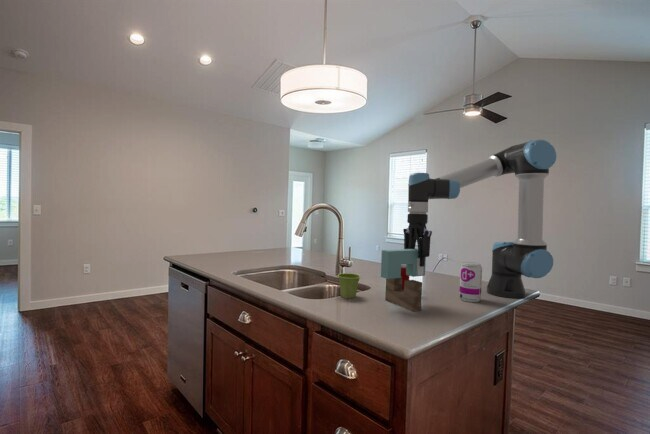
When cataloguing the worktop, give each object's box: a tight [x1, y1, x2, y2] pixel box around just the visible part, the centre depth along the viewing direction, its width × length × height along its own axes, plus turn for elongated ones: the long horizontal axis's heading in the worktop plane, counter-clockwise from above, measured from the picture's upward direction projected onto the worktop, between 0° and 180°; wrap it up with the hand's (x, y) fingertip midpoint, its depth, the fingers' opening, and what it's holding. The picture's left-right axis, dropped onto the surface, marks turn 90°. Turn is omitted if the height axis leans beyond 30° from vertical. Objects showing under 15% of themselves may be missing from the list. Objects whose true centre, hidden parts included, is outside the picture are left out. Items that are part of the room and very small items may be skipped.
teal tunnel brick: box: [380, 248, 427, 280], centre depth 131 cm, size 18×4×10 cm, turn 117°
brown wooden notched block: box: [384, 276, 423, 312], centre depth 131 cm, size 4×16×10 cm, turn 28°
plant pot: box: [337, 272, 362, 299], centre depth 141 cm, size 9×9×9 cm
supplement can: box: [458, 261, 483, 303], centre depth 141 cm, size 8×8×15 cm
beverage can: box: [401, 265, 410, 290], centre depth 147 cm, size 7×7×12 cm
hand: (415, 273), depth 134 cm, fingers closed on teal tunnel brick, 4 cm apart
